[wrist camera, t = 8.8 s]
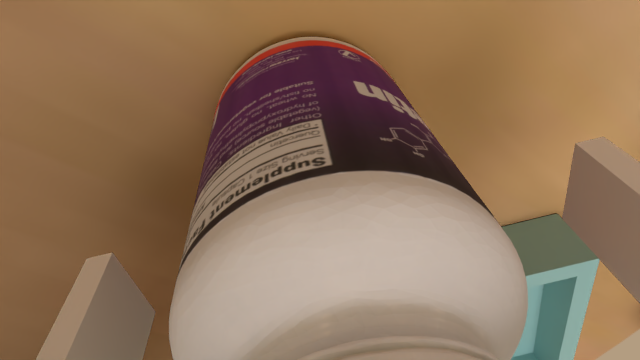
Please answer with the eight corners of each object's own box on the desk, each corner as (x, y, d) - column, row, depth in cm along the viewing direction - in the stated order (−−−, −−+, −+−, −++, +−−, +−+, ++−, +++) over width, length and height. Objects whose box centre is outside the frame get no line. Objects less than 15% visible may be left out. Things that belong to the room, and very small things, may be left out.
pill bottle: (422, 142, 20) (666, 504, 8) (282, 219, 21) (311, 616, 9) (342, -15, 15) (618, 267, 4) (174, 97, 17) (-24, 547, 5)
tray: (368, 381, 31) (380, 432, 28) (336, 267, 24) (347, 319, 21) (536, 342, 31) (565, 388, 28) (556, 213, 23) (599, 258, 20)
